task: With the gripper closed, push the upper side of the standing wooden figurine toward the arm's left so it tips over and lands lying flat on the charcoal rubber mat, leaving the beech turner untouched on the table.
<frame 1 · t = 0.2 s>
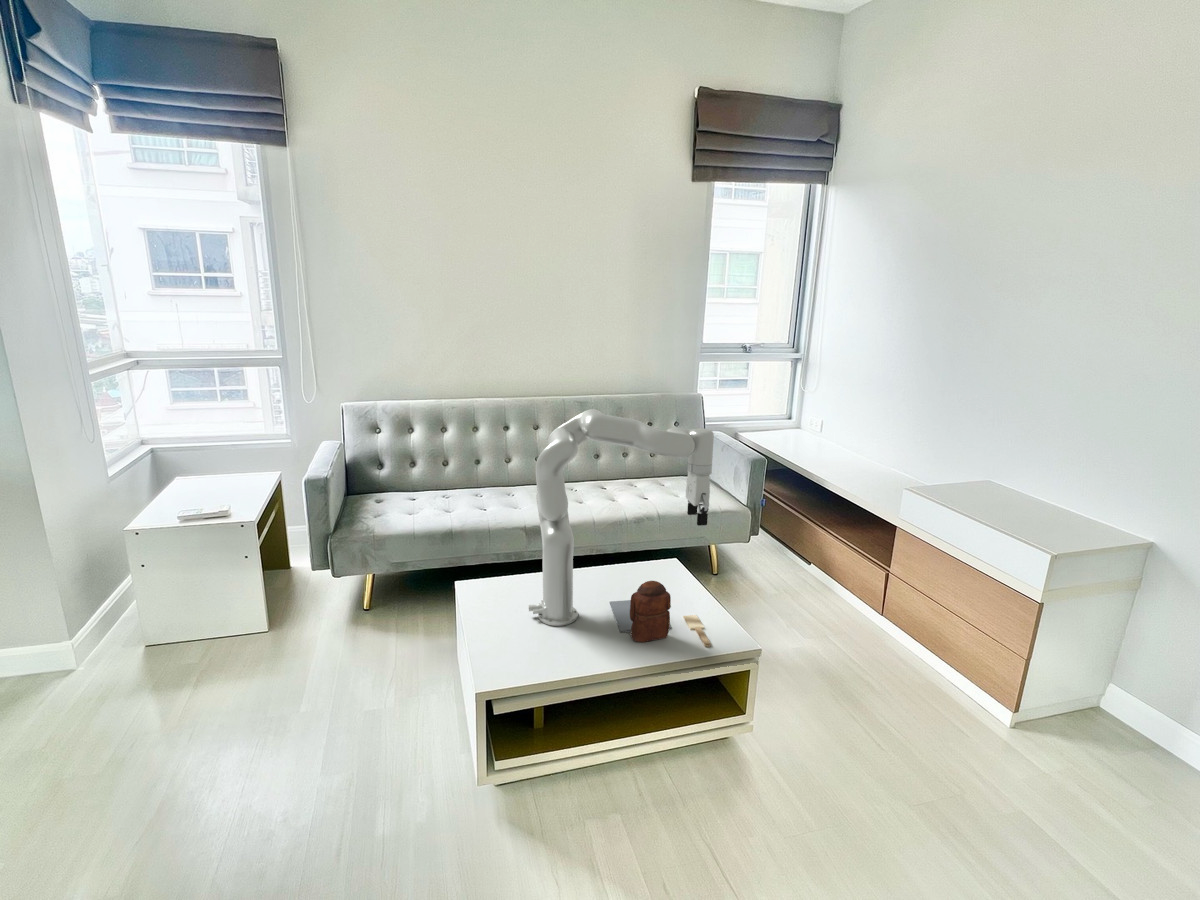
hand: (696, 519, 198), 31 cm above the table, tool pointing down, fingers open, 9 cm apart
turner: (697, 629, 192), on the table
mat: (639, 615, 200), on the table
wooden figurine: (648, 637, 187), on the table
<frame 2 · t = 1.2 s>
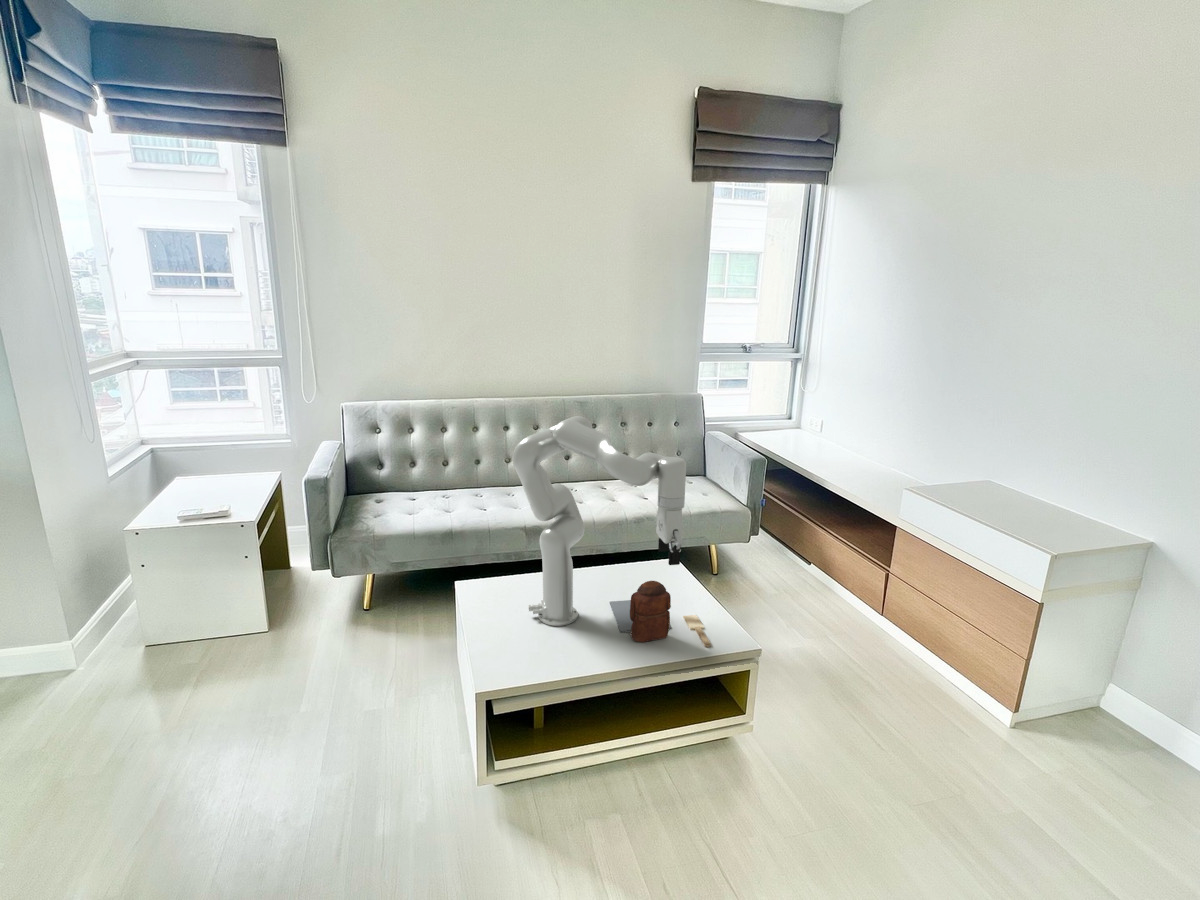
hand: (668, 557, 178), 27 cm above the table, tool pointing down, fingers open, 9 cm apart
nothing on the table moved.
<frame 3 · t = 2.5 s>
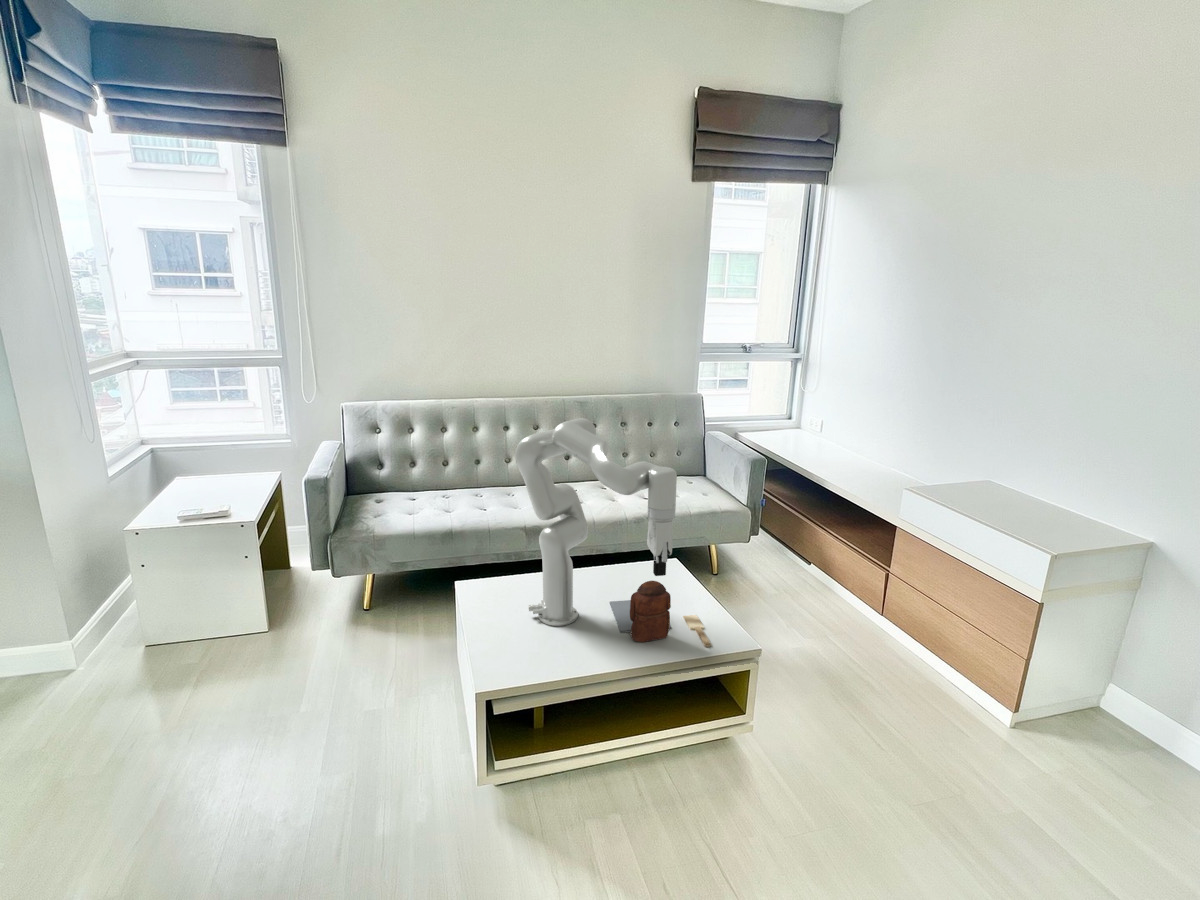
hand: (659, 574, 173), 25 cm above the table, tool pointing down, fingers closed
nothing on the table moved.
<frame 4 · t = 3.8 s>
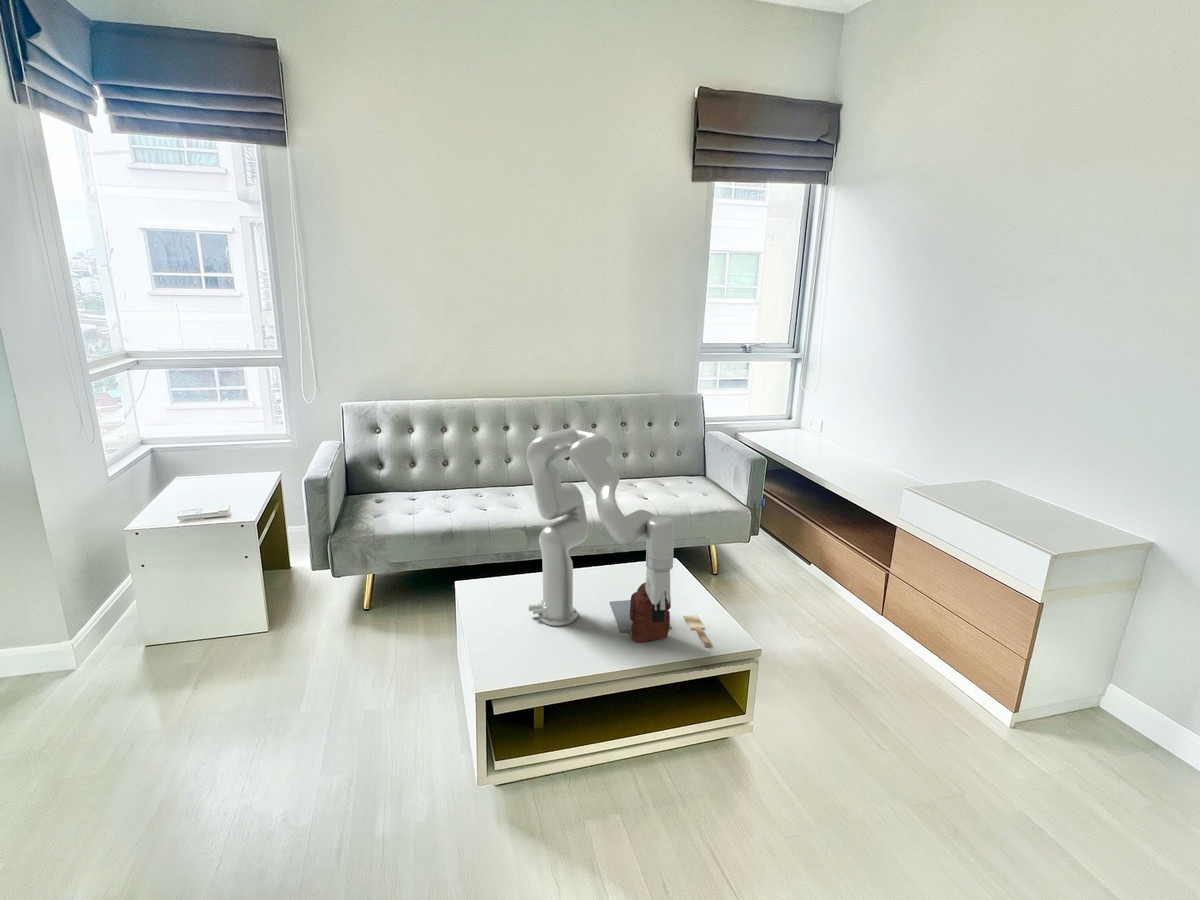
hand: (657, 620, 176), 10 cm above the table, tool pointing down, fingers closed
nothing on the table moved.
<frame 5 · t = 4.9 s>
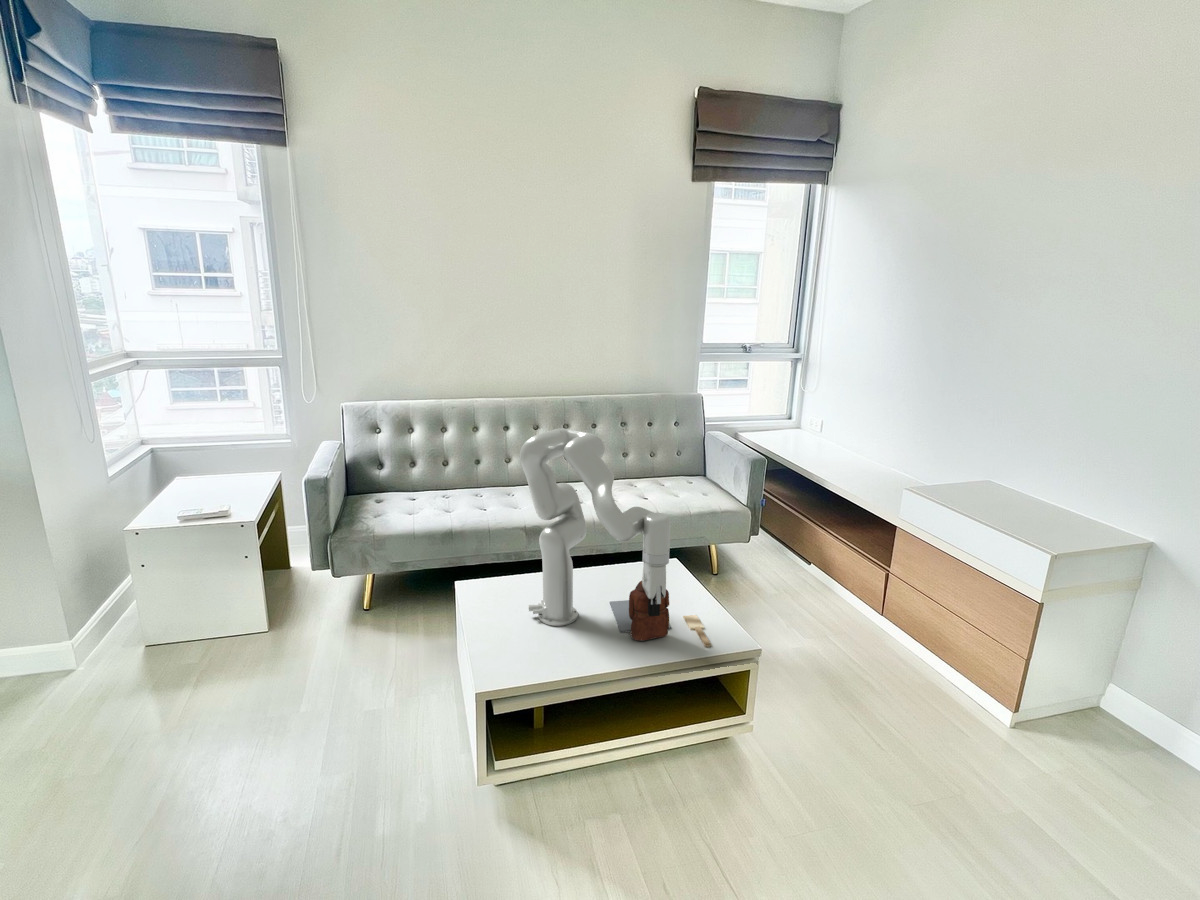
hand: (653, 614, 180), 10 cm above the table, tool pointing down, fingers closed
wooden figurine: (648, 636, 187), on the table, touching gripper
everything else where it was.
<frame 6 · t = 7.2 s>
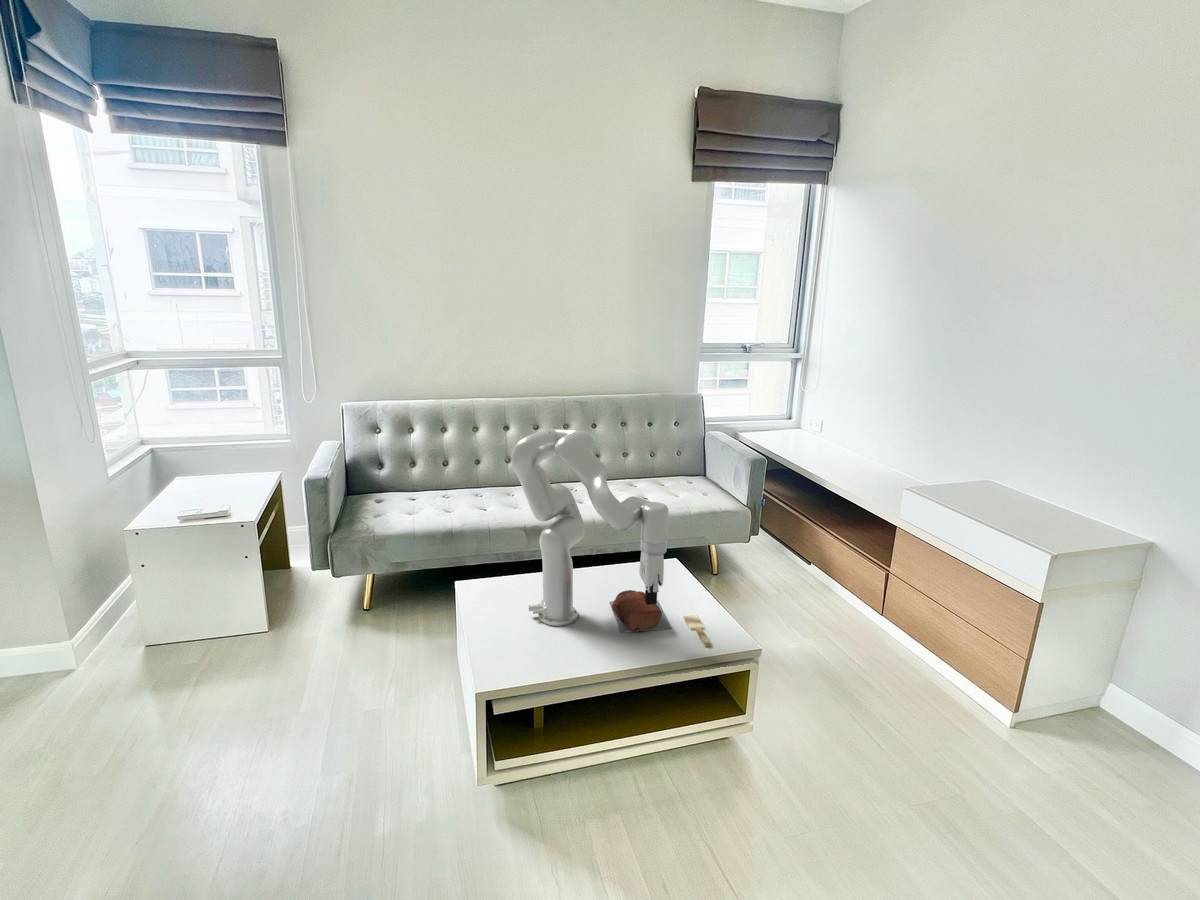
hand: (650, 602, 182), 12 cm above the table, tool pointing down, fingers closed
wooden figurine: (646, 621, 188), point 4 cm above the table, touching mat
everything else where it was.
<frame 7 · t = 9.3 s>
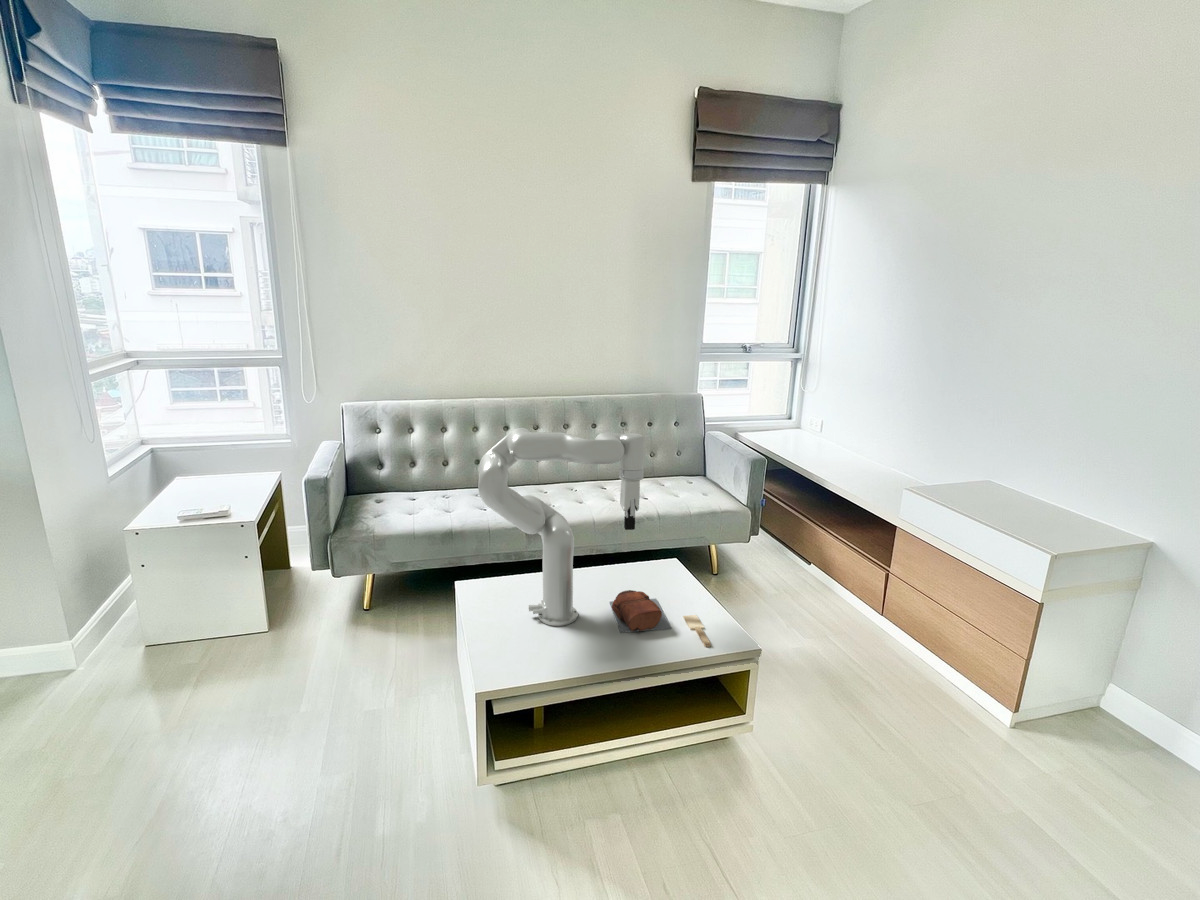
hand: (629, 528, 196), 29 cm above the table, tool pointing down, fingers closed
nothing on the table moved.
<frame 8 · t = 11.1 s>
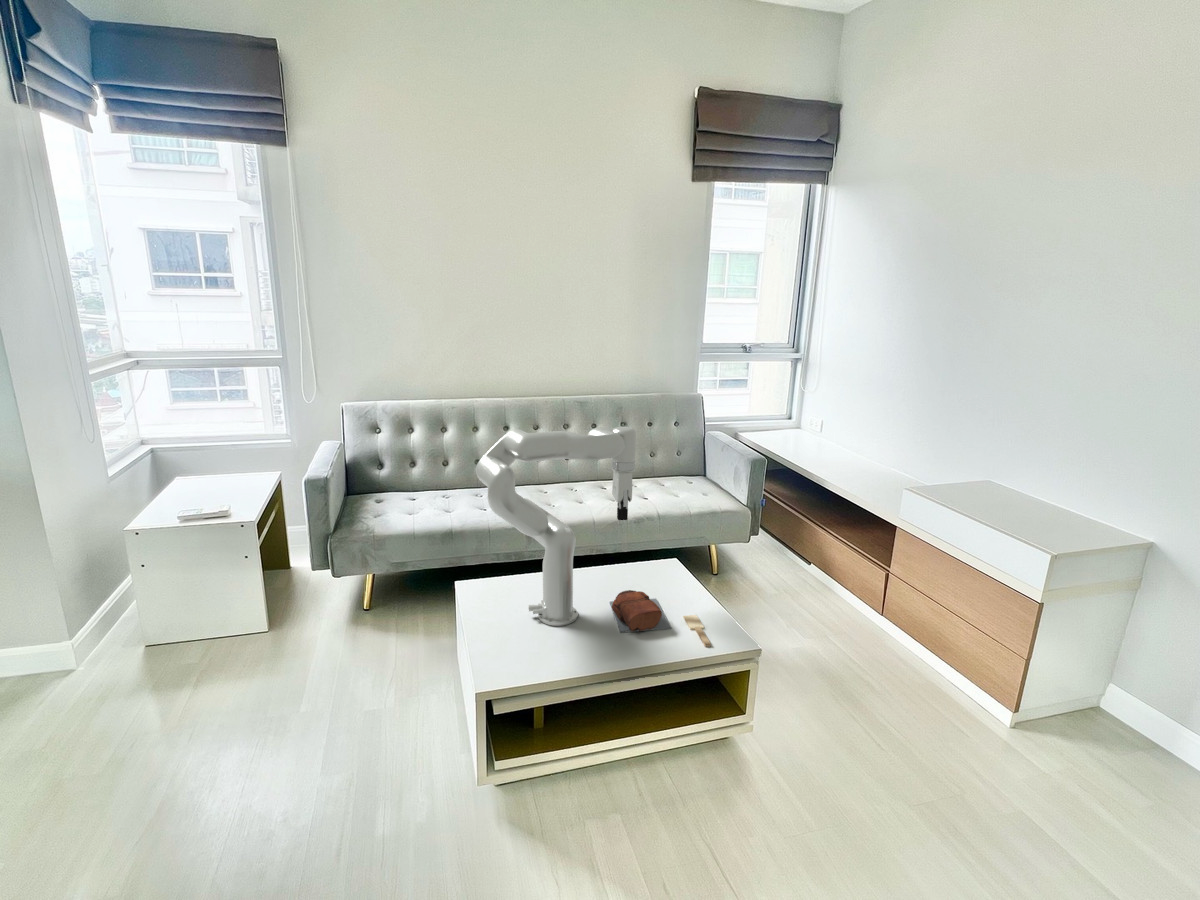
hand: (622, 519, 203), 29 cm above the table, tool pointing down, fingers closed
nothing on the table moved.
at the end: wooden figurine tilted 92°; wooden figurine inside the target area (10.3 cm from its centre), point 3.9 cm above the table; turner moved 0.1 cm from its start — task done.
